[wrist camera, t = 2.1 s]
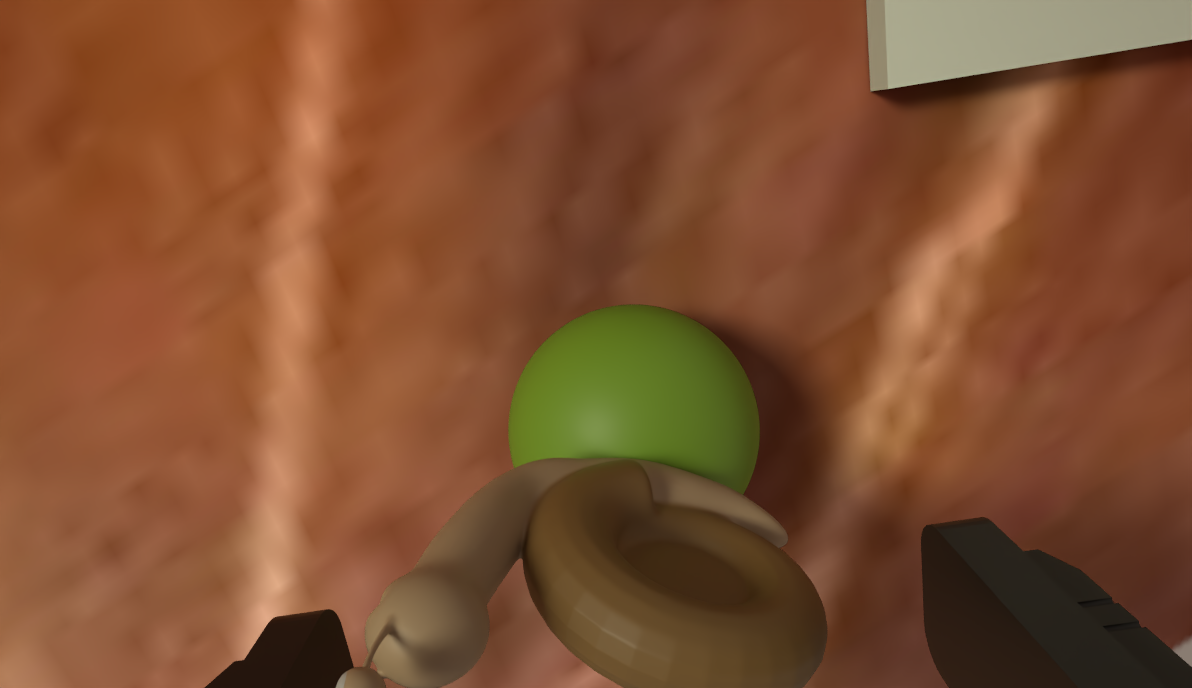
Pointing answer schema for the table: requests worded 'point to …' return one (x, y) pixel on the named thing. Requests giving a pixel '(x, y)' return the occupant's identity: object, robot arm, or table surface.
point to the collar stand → (1008, 34)
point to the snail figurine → (617, 525)
